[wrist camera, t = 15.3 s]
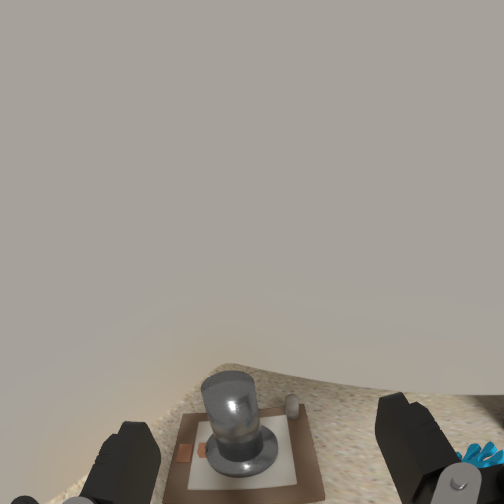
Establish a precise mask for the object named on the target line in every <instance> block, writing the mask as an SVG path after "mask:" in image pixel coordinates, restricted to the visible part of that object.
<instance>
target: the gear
mask: <svg viewBox="0 0 504 504" xmlns="http://www.w3.org/2000/svg"><path fill="white" fill-rule="evenodd" d="M480 451H481V447H480V446H479V444H471V445H470V446H469V447H468V449H467V453H466V455H465V456H464V458H463V459H462V455H461V454H460V453H459V452H456V454H457V456H458V457H459V459H460V460H461V461H462V462H463V463H469V464H472V465H474V466H475V467H476V468H484V467H489V466H493V465H497V464H502V463H504V451H503V450H500V451H498V452H497V453H496V451H497V448H496V447H495V445H494V444H493V443H492V442H488V443H487V444H486V445H485V447H484V448H483V450H482V451H481V452H480ZM479 452H480V453H479ZM495 453H496V454H495ZM477 454H478V455H477ZM494 454H495V455H494ZM476 455H477V456H476ZM492 455H494V456H492ZM489 456H492V457H491V458H489V459H487V460H484V461H483V459H485V458H486V457H489ZM473 457H474V458H473Z"/></svg>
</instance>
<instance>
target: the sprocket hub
mask: <svg viewBox="0 0 504 504" xmlns="http://www.w3.org/2000/svg"><path fill="white" fill-rule="evenodd" d="M201 393H202V396H203V400H204V404H205V407H206V411H207V414H208V418H209V421H210V424H211V428H212V431H213V434H212V435H211V436H210V437H209V439H208V440H207V442H206V443H199V445H198V451H197V453H198V456H199V458H207V460H208V463H209V464H210V466H211V467H212V468H213V469H214V470H215V471H217V472H218V473H220V474H222V475H225V476H228V477H233V478H245V477H251V476H254V475H257V474H260V473H262V472H263V471H265V470H267V469H268V468H269V467H270V466H271V465H272V464H273V463H274V462H275V460H276V458H277V455H278V442H277V438H276V436H275V434H274V433H273V432H272V431H271V430H270V429H269V428H267V427H265V426H263V425H261V423H260V417H259V410H258V404H257V398H256V391H255V385H254V380H253V378H252V377H251V376H250V375H249V374H247V373H244V372H241V371H223V372H219V373H216V374H214V375H212V376H210V377H208V378H207V379H206V380H205V381H204V382H203V384H202V386H201Z"/></svg>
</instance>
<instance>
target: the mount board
mask: <svg viewBox="0 0 504 504" xmlns="http://www.w3.org/2000/svg"><path fill="white" fill-rule="evenodd" d="M258 410H259V417H260V423H261V425H263V426H265V427H267V428H269V429H270V430H271V431H272V432H273V433H274V434H275V436H276V438H277V442H278V455H277V458H276V460H275V462H274V463H273V464H272V465H271V466H270V467H269V468H268V469H267V470H265V471H263V472H262V473H260V474H257V475H254V476H251V477H245V478H233V477H228V476H225V475H222V474H220V473H218V472H217V471H215V470H214V469H213V468H212V467H211V466H210V464H209V463H208V460H207V458H199V456H198V453H197V451H198V445H199V443H206V442H207V440H208V439H209V437H210V436H211V435H212V434H213V431H212V428H211V424H210V421H209V418H208V414H207V413H195V414H183V416H182V420H181V424H180V428H179V432H178V437H177V441H176V445H175V449H174V453H173V458H172V462H171V466H170V470H169V475H168V479H167V483H166V488H165V492H164V497H163V501H162V503H163V504H305V503H311V502H317V501H322V500H325V492H324V487H323V483H322V479H321V474H320V470H319V466H318V461H317V457H316V453H315V448H314V444H313V440H312V436H311V431H310V427H309V423H308V419H307V415H306V410H305V406H304V404H299V402H298V396H297V395H294V394H290V395H287V396H286V397H285V406H284V407H276V408H267V409H258Z"/></svg>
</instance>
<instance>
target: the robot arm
mask: <svg viewBox="0 0 504 504" xmlns="http://www.w3.org/2000/svg"><path fill="white" fill-rule="evenodd" d="M503 421H504V414H503ZM375 436H376V440H377V443H378V445H379V447H380V450H381V452H382V455H383V457H384V459H385V462H386V464H387V467H388V469H389V472H390V474H391V477H392V479H393V482H394V484H395V487H396V489H397V492H398V494H399V497H400V499H401V502H402V504H504V463H502V464H497V465H493V466H489V467H484V468H476V467H475V466H474V465H472V464H469V463H463V462H462V461H461V460H460V459H459V457H458V456H457V454H456V452H455V451H454V449H453V448H452V446H451V444H450V443H449V441H448V440H447V438H446V436H445V435H444V433H443V432H442V430H440V427H439V425H438V424H437V422H436V421H435V419H434V418H433V416H432V415H431V413H430V412H429V410H428V409H427V408H425V407H424V406H422V405H421V404H419V403H418V402H414V403H411V404H409V402H408V401H407V399H406V398H405V396H404V394H403V393H402V392H398V393H395V394H391V395H387V396H384V397H380V399H379V402H378V409H377V416H376V422H375ZM160 463H161V454H160V449H159V447H158V445H157V443H156V441H155V439H154V437H153V435H152V433H151V431H150V429H149V427H148V425H147V424H146V423H145V422H130V421H125V422H123V424H122V425H121V428H120V430H119V432H118V434H112V435H111V436H110V437H109V438H108V439H107V440H106V441H105V442H104V443H103V445H102V447H101V449H100V451H99V455H98V456H97V458H96V460H95V464H93V466H92V469H91V471H90V473H89V475H88V478H87V480H86V482H85V484H84V487H83V489H82V491H81V493H80V495H79V496H78V497H72V498H69V499H68V500H66V501H65V502H64V503H63V504H150V502H151V498H152V494H153V490H154V486H155V482H156V478H157V475H158V471H159V467H160ZM11 504H39V503H38V502H37V501H36V500H35V499H34V498H32V497H30V496H19V497H17V498H16V499H14V500H13V501H12V503H11Z"/></svg>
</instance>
